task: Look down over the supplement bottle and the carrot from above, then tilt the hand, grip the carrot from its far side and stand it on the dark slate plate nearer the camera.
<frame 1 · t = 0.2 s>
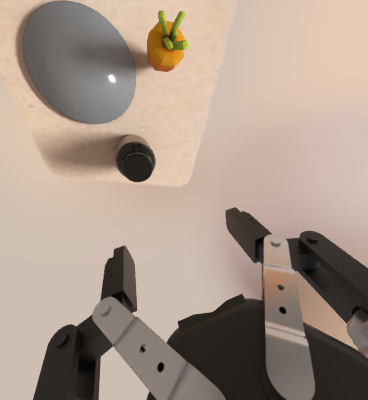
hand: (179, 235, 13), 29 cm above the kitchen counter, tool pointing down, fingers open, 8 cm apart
slate plate: (86, 71, 29), on the kitchen counter
carrot: (155, 62, 31), on the kitchen counter
supplement bottle: (134, 151, 37), on the kitchen counter
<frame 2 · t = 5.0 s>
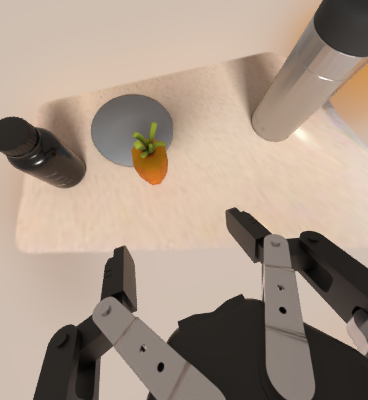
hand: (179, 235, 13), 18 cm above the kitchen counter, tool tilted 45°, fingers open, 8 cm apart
slate plate: (133, 130, 35), on the kitchen counter
carrot: (156, 182, 33), on the kitchen counter
supplement bottle: (68, 172, 33), on the kitchen counter
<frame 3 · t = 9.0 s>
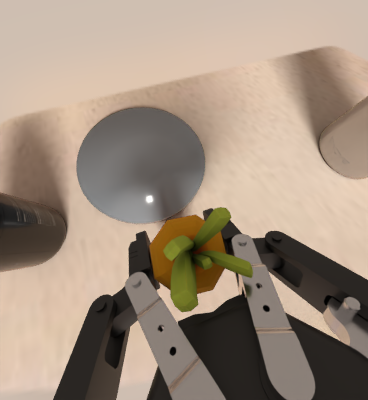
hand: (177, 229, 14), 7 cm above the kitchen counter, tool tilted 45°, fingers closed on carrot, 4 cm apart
slate plate: (143, 163, 23), on the kitchen counter
carrot: (180, 249, 21), on the kitchen counter, touching gripper
supplement bottle: (38, 235, 20), on the kitchen counter
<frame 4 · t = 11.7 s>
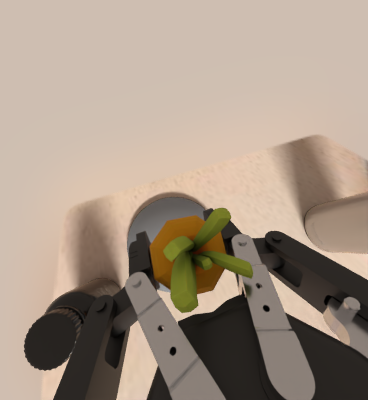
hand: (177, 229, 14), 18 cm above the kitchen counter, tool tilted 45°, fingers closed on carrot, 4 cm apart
slate plate: (174, 241, 31), on the kitchen counter
carrot: (180, 249, 21), point 10 cm above the kitchen counter, touching gripper
supplement bottle: (101, 300, 28), on the kitchen counter
when the fingers open (9 cm above the kitchen counter, at t = 14.3 s): carrot drops 1 cm, resting on slate plate.
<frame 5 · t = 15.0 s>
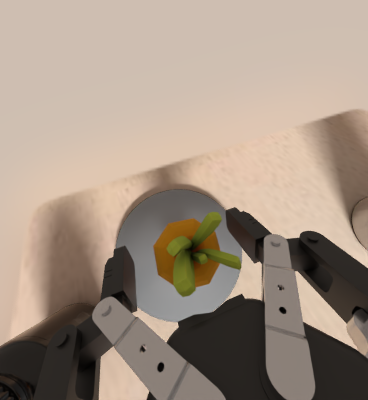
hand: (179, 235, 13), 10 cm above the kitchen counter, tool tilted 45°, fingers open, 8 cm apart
slate plate: (179, 249, 23), on the kitchen counter
carrot: (180, 251, 22), point 1 cm above the kitchen counter, touching slate plate
supplement bottle: (79, 334, 20), on the kitchen counter
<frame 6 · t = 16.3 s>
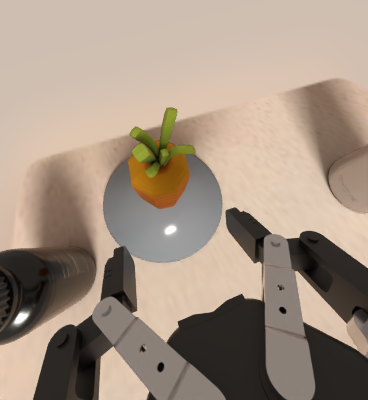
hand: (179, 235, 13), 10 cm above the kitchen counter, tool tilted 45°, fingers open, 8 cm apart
slate plate: (164, 201, 24), on the kitchen counter
carrot: (164, 201, 24), point 1 cm above the kitchen counter, touching slate plate
supplement bottle: (69, 274, 21), on the kitchen counter
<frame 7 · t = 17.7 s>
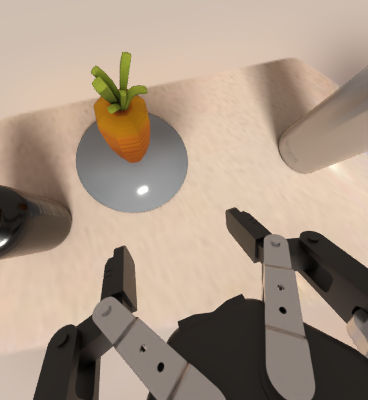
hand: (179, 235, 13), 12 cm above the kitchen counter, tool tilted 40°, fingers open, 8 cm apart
slate plate: (135, 161, 27), on the kitchen counter
carrot: (135, 160, 26), point 1 cm above the kitchen counter, touching slate plate
supplement bottle: (46, 225, 23), on the kitchen counter
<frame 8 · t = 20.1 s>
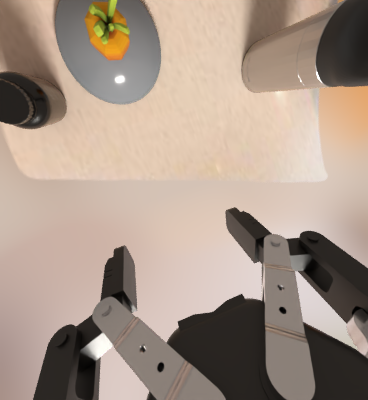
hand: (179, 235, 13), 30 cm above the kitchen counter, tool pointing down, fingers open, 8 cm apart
slate plate: (113, 50, 29), on the kitchen counter
carrot: (113, 50, 29), point 1 cm above the kitchen counter, touching slate plate
supplement bottle: (45, 102, 30), on the kitchen counter
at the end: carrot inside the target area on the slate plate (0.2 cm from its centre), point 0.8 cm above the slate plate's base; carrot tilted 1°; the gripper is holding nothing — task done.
